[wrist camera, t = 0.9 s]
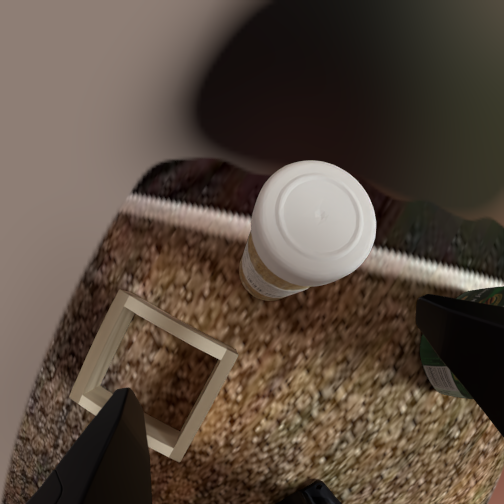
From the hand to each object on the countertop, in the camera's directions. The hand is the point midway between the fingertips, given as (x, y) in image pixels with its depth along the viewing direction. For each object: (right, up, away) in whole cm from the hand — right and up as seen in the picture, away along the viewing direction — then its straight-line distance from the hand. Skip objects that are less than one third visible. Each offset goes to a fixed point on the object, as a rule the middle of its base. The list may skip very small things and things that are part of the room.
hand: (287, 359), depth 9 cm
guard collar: (-8, -6, +13) cm, 16 cm away
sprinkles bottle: (0, +1, +16) cm, 16 cm away
